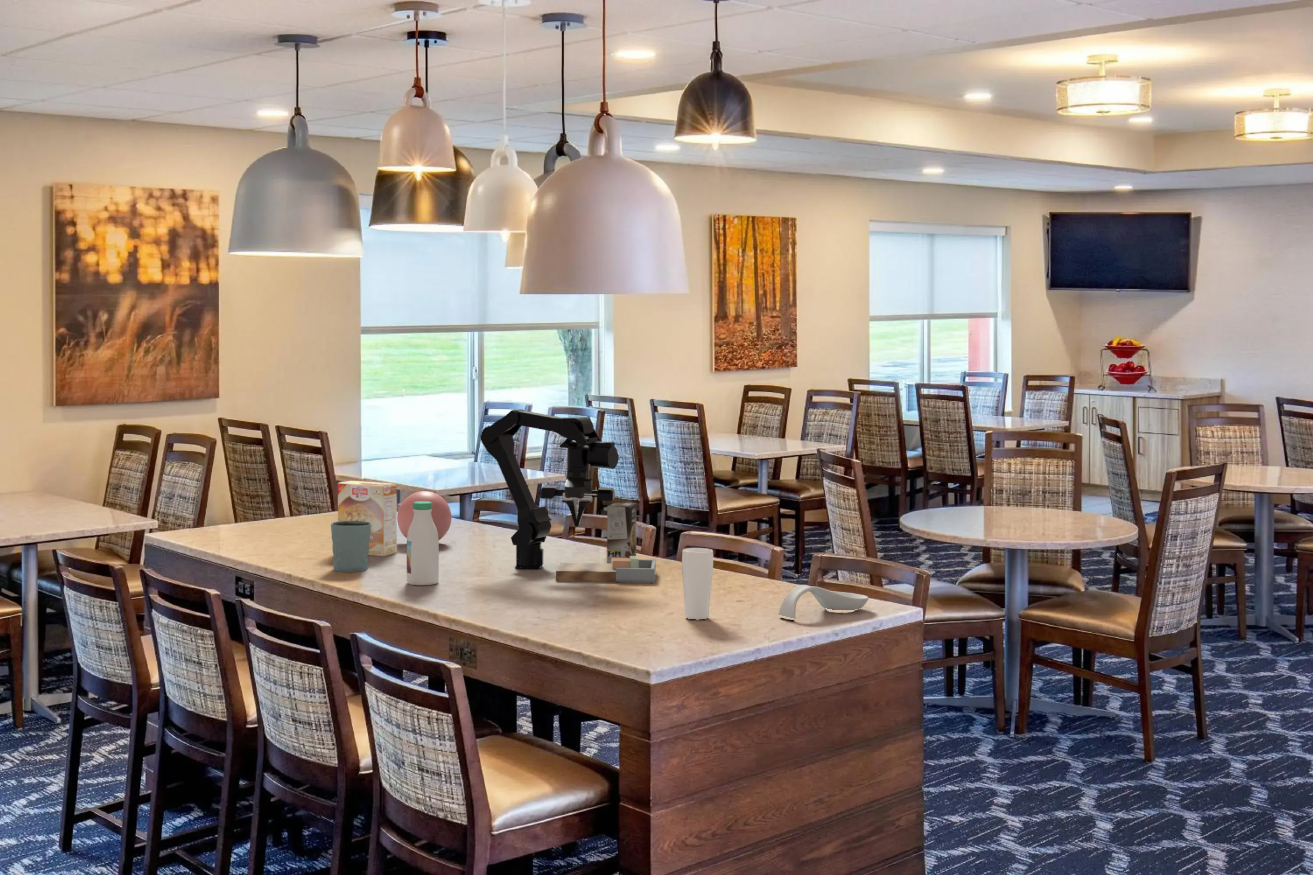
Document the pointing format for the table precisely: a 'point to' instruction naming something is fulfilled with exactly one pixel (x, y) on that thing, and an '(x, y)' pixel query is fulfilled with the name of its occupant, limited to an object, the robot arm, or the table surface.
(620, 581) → the tray
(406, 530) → the balloon
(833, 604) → the spoon rest
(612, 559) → the terracotta tile
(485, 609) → the table surface
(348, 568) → the teal cup
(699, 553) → the drinking glass
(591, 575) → the walnut board
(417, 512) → the milk bottle
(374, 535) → the coffeecake box
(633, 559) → the sage tile
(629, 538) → the coffee box
